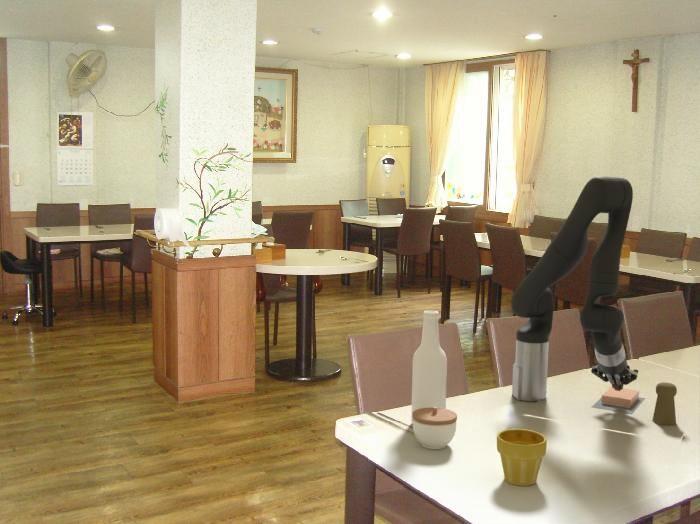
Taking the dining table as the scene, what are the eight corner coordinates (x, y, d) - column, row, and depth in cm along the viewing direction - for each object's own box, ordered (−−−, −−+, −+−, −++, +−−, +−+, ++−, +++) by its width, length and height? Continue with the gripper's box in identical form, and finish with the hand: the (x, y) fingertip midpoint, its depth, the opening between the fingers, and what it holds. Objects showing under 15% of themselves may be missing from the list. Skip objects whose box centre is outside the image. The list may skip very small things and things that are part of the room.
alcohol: (407, 427, 201) (409, 312, 197) (416, 417, 209) (418, 307, 205) (440, 432, 198) (443, 315, 194) (448, 421, 206) (451, 309, 202)
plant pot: (500, 489, 162) (502, 444, 161) (491, 470, 173) (492, 428, 171) (550, 490, 162) (552, 445, 161) (538, 471, 173) (539, 428, 171)
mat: (631, 415, 213) (631, 413, 213) (591, 408, 219) (591, 407, 219) (645, 399, 228) (645, 398, 228) (606, 393, 234) (606, 392, 234)
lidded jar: (403, 440, 191) (404, 403, 190) (441, 435, 195) (443, 398, 194) (425, 455, 181) (426, 416, 180) (464, 449, 186) (465, 411, 184)
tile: (630, 399, 218) (639, 390, 227) (601, 395, 222) (610, 386, 232) (630, 408, 218) (638, 398, 228) (601, 403, 222) (610, 394, 232)
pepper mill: (678, 428, 203) (681, 387, 202) (654, 426, 204) (656, 385, 203) (673, 421, 209) (676, 381, 208) (650, 419, 210) (652, 379, 209)
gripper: (638, 346, 209) (645, 380, 220) (588, 339, 215) (597, 373, 227) (633, 369, 205) (640, 403, 217) (582, 362, 212) (591, 395, 223)
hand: (618, 388), depth 222 cm, fingers closed
